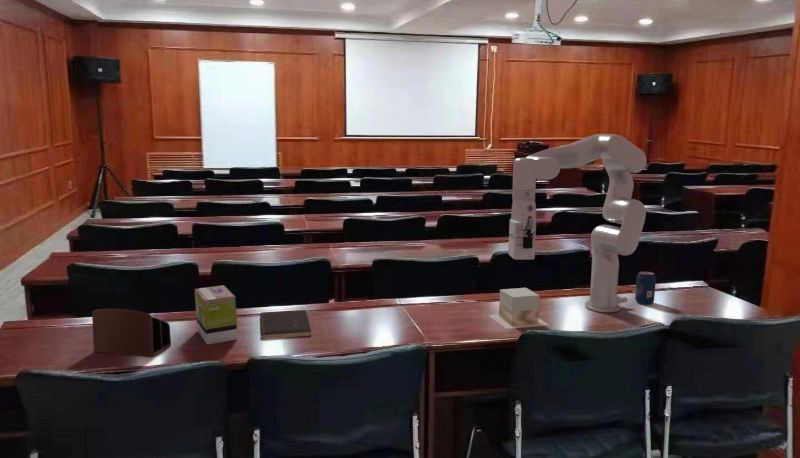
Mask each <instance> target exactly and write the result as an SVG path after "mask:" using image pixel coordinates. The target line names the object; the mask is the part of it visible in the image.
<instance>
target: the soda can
mask: <svg viewBox="0 0 800 458" xmlns="http://www.w3.org/2000/svg"><path fill="white" fill-rule="evenodd" d="M635 280H636V281H635V283H636V284H635V293H634V299H635V302H636V303H637V304H639V303H640V304H639V305H643V304H651V305H653V303H654V302H655V292H656V283H657V282H656V281H657V277H656V275H655V273H654V272H653V271H648V270H645V271H644V270H642V271H639V272H638V274H637V275H636V279H635Z"/></svg>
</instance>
